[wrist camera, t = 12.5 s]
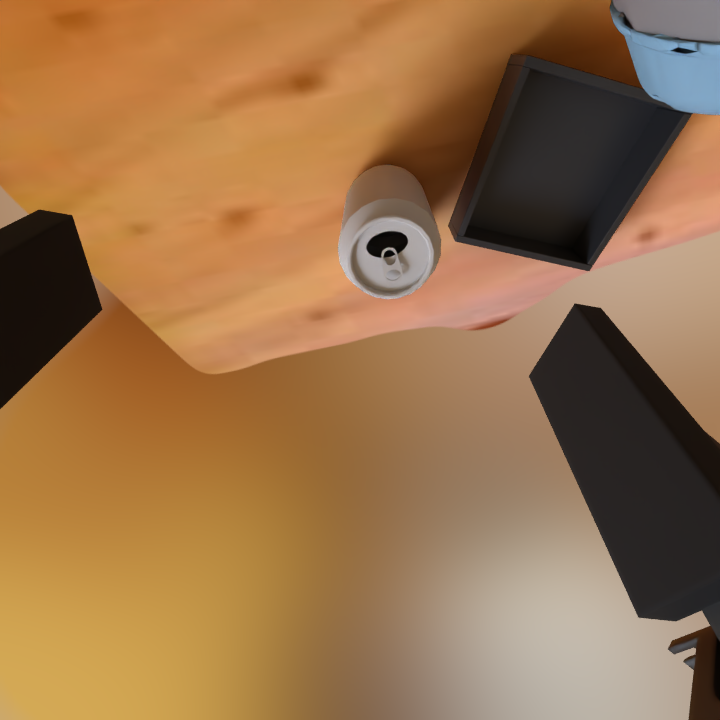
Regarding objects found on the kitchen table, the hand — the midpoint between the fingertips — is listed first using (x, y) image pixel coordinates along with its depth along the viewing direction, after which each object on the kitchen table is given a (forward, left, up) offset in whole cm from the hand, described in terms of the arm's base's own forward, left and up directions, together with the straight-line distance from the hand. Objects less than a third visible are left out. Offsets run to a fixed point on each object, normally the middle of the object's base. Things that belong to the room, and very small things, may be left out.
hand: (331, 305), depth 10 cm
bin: (-1, +17, -28) cm, 32 cm away
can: (+5, +4, -28) cm, 28 cm away
